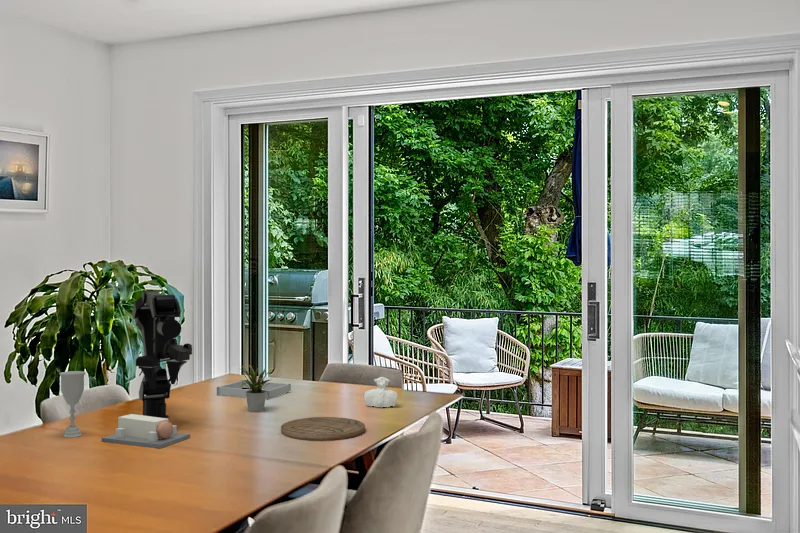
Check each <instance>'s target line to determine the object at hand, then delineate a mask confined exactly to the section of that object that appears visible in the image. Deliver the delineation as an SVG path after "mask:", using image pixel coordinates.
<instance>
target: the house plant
mask: <svg viewBox="0 0 800 533" xmlns="http://www.w3.org/2000/svg"><path fill="white" fill-rule="evenodd" d="M259 364H260V363H258V364H257V368H256V369H255V370H254V369H253V365H251V364H249V368H250V371H248V369H247V368H245V367H244V366H243V365H239V367H242V368H243V369H242V368H240V370H241V371H240V373H241V374H242V375H243V376H244V378H245V379H244V380H243V381H245V382H247V383H243V382H242V384H241V386H242V385H244V384H248V385H249V386H250V388H251V390H250V389H249V390H250V391H246V404H247V410H248V411H249V412H254V413H255V412H262V411H264V410H265V404H266V400H267V399H266V393H267V390H266V391H265V390H262V387H263V386H264V384H265V383H266V382H270V383H271V379H266V380H264V379H265V378H266V376H267V375H268V374H269V373H270V372H271V371H273V369H276V367H277V366H276V367H273V368H271V369H270V370H269V371H267V370H266V367H265V368H264V369H263V370H262V372H260V374H259V375H258V369H259V367H260V365H259ZM266 371H267V373H266V374H265V372H266ZM243 372H244V373H243ZM245 374H246V375H245ZM247 377H248V378H247ZM238 381H239V382H240V381H241V380H238ZM250 381H251V382H252V384H251V383H250ZM260 382H261V383H260ZM270 383H268V384H270ZM268 384H267V385H268ZM263 389H264V388H263Z"/></svg>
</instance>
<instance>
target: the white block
mask: <svg viewBox="0 0 800 533" xmlns="http://www.w3.org/2000/svg"><path fill="white" fill-rule="evenodd" d="M173 425H174V424H173V423H172V422H171V421H169V418H167V417H164V418H159V417H151V416H143V414H137V413H136V414H135V413H129V414H125V415H121V416H118V418H117V428H125V436H130V437H137V438H143V439H147V438H148V432H150V431H153V432H157V440H158V439H161V438H169V437H170V436H171V435H172V432H173Z"/></svg>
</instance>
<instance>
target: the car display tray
mask: <svg viewBox="0 0 800 533" xmlns="http://www.w3.org/2000/svg"><path fill="white" fill-rule="evenodd" d="M239 381H240V382H239ZM249 381H250V383H251V384H252V382H251V380H249ZM242 382H243V383H247V382H245V381H244V380H237V381H234V382H231V383H227V384H223V385H220V386H216V396H221V395H223V396H222V397H233V396H236V397H235V398H237V397H238V398H245V397H246V391H250V390H251V389H250V390H249V389H241V388H250V386H249V385H248V384H244V385H242V386H241V384H242ZM260 383H261V382H260ZM268 383H270V384H268ZM267 384H268V385H267ZM291 385H292V383H281V382H271V381H268V382H266V383H265V384H264V386H263V387H262V389H263V388H264V390H265V391H267V393H266V399H265V400H270V399H273V397H274V398H277V397H279V395H280V396H282V395H281V394H283V395H285V394H284V393H286V394H287V392H289V391H291V390H292V388H291V387H292V386H291ZM289 393H290V392H289ZM276 396H277V397H276Z"/></svg>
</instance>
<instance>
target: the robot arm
mask: <svg viewBox="0 0 800 533" xmlns="http://www.w3.org/2000/svg"><path fill="white" fill-rule="evenodd" d="M181 313H182V310H181V307H180V303H179V301H178V298H176V295H174V294H162V293H160V292H159V291H157V290H144V291H142V293H141V296H140V297H139V298H138V299H136V300H135V301H134V303H133V308H132V318H133V319H134V322H135V324H134V325H135V326H136V327H137V328H138V329H139V330H140V331H141V337H142V338H141V339H142V347H143V354H144V355H141V356H137V357H136V359H135V366H136V367H138V368H137V369H140V370H141V372H142V373H143V377H142V379H141V382H140V386H139V390H138V398H139V400H141V401H142V415H143V416H151V417H159V418H167V417H169V414H167V403H166V399H170V397H171V396H170V394H171V388H172V385H176V382H177V380H178V376H179V372H180V370H181V368H182V367H183V366H184V365H185V364H186V363H187V362H188V361H190V358H191V357H190V356H191V355H193V345H192V344H191V343H188V342H187V343H184V344H179V343H178V339H177V337H179V336H180V334H181V332H182V326H181V323H180V321H178V320H176V318H180V316H181ZM162 362H166V367H167V369H166V368H162V366H161V363H162ZM168 376H169V379H168Z"/></svg>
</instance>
